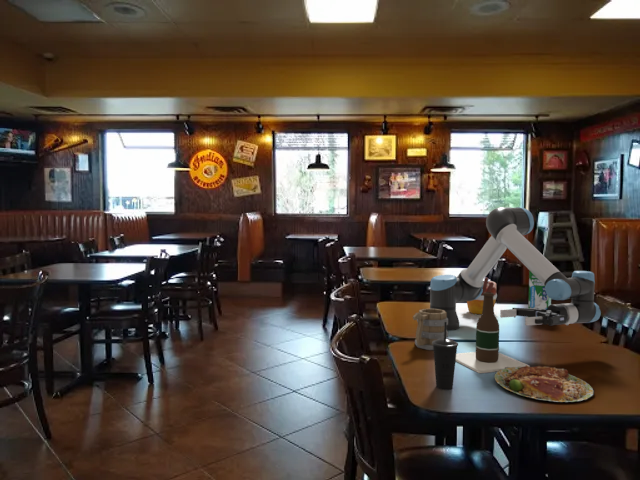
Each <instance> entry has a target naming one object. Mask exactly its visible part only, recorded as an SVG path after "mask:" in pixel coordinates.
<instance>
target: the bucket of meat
mask: <svg viewBox="0 0 640 480" xmlns="http://www.w3.org/2000/svg"><path fill="white" fill-rule="evenodd" d="M483 282H484V284H483V288H482V289H483V292H482V294H481V295H480V297H479V298H477V299H475V300H472V301H466V303H467V304H466V305H467V308H468V312H469V313H471V314H473V315H480V316H481V315H482V311H483V301H484V296H483V294H484V293H485V292H492V293H494V296H493V302H494V306H495V304H496V300H497V297H498V294H497V283H496V282H495V281H492V280H489V277H487V276H486V277H485V278H484V279H483Z"/></svg>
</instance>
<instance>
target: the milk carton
mask: <svg viewBox="0 0 640 480" xmlns="http://www.w3.org/2000/svg"><path fill="white" fill-rule="evenodd" d="M528 273H529V275H528V278H529V279H528V306H527V308H539V309H547V308H548V306H550V305H552V299H551V298H549V297H548V296H547V293H546V291H545V285H544V284H543V283H542V282H541V281H540V280H539V279H538V278H537V277H536V276H535V275H534V274H533V273H532V272H531V271H530V270H529V271H528ZM536 317H537V316H536Z"/></svg>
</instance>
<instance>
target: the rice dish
mask: <svg viewBox="0 0 640 480" xmlns="http://www.w3.org/2000/svg"><path fill="white" fill-rule="evenodd" d="M527 365H528V364H527ZM527 365H526V366H525V367H505V369H502V370H499V371H498V372H494V380H495V382H496V383H497V384H499V386H501V388H502V389H505V390H506V391H510V392H512V393H514V394H517V395H518V396H522V397H526V398H528V399H533V400H537V401H543V402H544V401H548V402H554V403H575V402H576V403H577V402H582V401H587V400H589V399H591V398H592V397H593V396H594V395H595V389H594V388H593V387H592V386H591V385H590V384H589V383H588V382H587V381H585V380H583V379H581V378H579V377H576V376H575V375H572V374H570V373H569V371H568V370H567V369H565V368H556V367H551V366H545V365H543V366H541V365H537V366H530V365H529V366H530V367H529V366H527Z"/></svg>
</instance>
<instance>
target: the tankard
mask: <svg viewBox="0 0 640 480" xmlns="http://www.w3.org/2000/svg"><path fill="white" fill-rule="evenodd" d="M412 319H413V321H416V322H417V327H416V330H415V331H416V332H415V339H414V344H415V346H416V347H417V348H418V349H423V350H425V351H426V350H427V351H434V349H433V344H432V342H433V341H434V340H437V339H440V338H444V322H447V325H448V318H447V313H446V312H445V311H444V310H440V309H430V308H423V309H419V310H418V312H415V314H414V315H413V316H412ZM448 337H449V330H447V333H446V338H448Z"/></svg>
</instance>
